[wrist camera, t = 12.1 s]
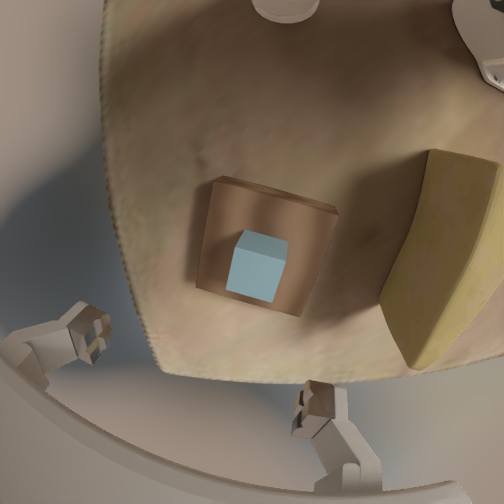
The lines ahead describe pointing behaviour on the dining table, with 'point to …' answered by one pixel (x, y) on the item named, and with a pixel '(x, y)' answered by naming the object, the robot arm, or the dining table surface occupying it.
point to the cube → (257, 265)
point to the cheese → (446, 256)
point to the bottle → (286, 9)
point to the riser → (271, 224)
